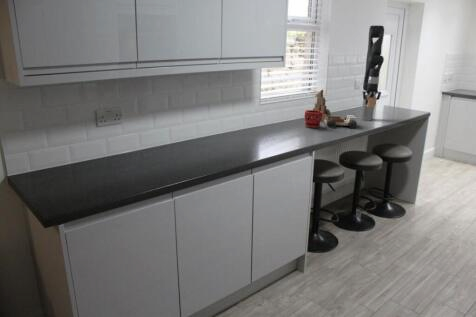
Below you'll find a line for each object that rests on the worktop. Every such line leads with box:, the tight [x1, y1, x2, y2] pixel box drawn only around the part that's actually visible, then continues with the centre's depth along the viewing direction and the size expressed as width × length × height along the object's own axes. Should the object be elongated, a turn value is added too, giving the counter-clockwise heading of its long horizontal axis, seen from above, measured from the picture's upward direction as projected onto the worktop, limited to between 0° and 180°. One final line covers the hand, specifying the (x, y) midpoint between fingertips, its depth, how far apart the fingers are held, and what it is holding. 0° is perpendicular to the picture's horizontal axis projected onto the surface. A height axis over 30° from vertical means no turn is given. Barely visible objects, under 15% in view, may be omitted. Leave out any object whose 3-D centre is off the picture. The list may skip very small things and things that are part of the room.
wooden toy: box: [311, 89, 332, 123], centre depth 318 cm, size 16×7×25 cm, turn 41°
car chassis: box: [323, 114, 358, 129], centre depth 304 cm, size 17×22×8 cm
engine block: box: [366, 98, 377, 108], centre depth 300 cm, size 7×5×6 cm
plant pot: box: [304, 109, 323, 129], centre depth 296 cm, size 13×13×12 cm
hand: (370, 104), depth 301 cm, fingers closed on engine block, 5 cm apart
